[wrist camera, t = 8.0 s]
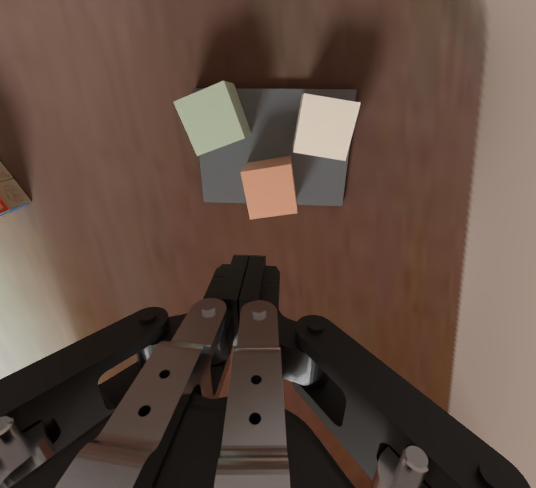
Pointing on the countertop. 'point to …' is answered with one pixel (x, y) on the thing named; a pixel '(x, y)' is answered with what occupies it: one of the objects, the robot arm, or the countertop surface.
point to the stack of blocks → (10, 193)
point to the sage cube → (213, 117)
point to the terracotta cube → (269, 187)
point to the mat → (274, 150)
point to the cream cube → (325, 126)
